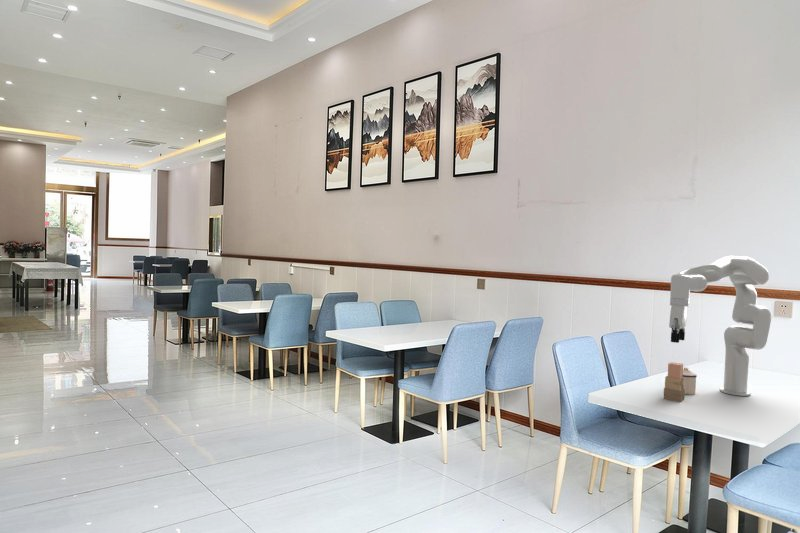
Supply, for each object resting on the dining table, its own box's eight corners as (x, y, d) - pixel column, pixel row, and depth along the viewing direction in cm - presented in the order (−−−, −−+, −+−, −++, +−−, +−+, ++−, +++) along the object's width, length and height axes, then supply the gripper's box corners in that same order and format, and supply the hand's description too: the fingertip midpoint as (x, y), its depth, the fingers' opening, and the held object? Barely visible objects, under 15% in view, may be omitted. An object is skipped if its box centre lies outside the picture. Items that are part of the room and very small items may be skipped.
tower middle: (668, 386, 248) (669, 374, 248) (683, 388, 244) (683, 377, 244) (664, 388, 244) (665, 376, 244) (679, 390, 240) (680, 379, 240)
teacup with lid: (697, 392, 259) (698, 367, 259) (693, 396, 252) (695, 370, 251) (669, 387, 266) (670, 363, 266) (665, 391, 259) (666, 366, 259)
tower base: (667, 396, 249) (667, 385, 249) (684, 399, 245) (684, 388, 245) (663, 399, 244) (664, 388, 243) (680, 402, 239) (681, 391, 239)
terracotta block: (670, 375, 247) (671, 362, 247) (682, 377, 244) (683, 363, 244) (667, 376, 244) (668, 363, 243) (680, 378, 240) (680, 365, 240)
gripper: (675, 300, 252) (673, 338, 253) (665, 302, 239) (663, 342, 239) (693, 302, 248) (691, 340, 248) (684, 304, 234) (682, 344, 235)
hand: (677, 341), depth 244 cm, fingers open, 9 cm apart
